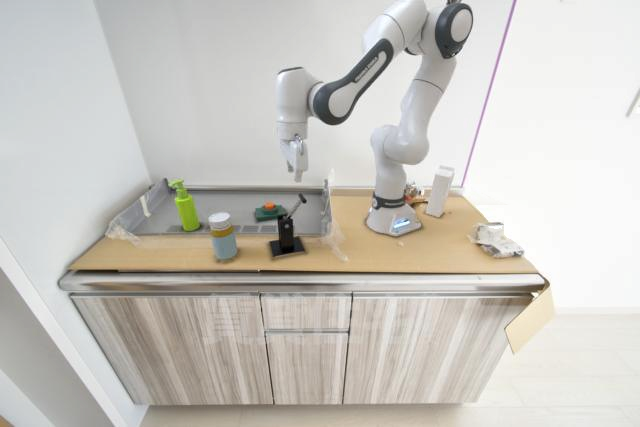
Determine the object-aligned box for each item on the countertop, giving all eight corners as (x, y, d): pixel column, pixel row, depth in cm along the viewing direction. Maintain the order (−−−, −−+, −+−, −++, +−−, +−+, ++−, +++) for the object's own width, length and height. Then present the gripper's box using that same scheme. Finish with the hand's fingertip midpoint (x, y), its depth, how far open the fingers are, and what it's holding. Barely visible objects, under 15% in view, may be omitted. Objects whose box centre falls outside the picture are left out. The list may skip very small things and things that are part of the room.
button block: (282, 208, 112) (281, 201, 110) (285, 218, 105) (285, 209, 103) (255, 212, 109) (254, 204, 107) (257, 222, 101) (256, 213, 99)
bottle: (231, 263, 78) (223, 224, 71) (212, 260, 79) (202, 221, 72) (241, 250, 84) (235, 213, 77) (223, 248, 85) (215, 210, 78)
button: (273, 205, 107) (273, 202, 106) (275, 209, 104) (274, 205, 103) (264, 206, 106) (264, 203, 105) (265, 210, 103) (265, 207, 102)
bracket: (298, 238, 91) (297, 208, 85) (305, 252, 83) (304, 221, 77) (269, 243, 88) (266, 213, 82) (273, 259, 80) (270, 226, 74)
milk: (438, 217, 107) (452, 170, 96) (424, 213, 110) (436, 166, 100) (443, 213, 111) (457, 166, 100) (429, 208, 114) (441, 163, 104)
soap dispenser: (178, 230, 95) (163, 182, 85) (192, 222, 100) (179, 176, 91) (189, 233, 93) (175, 185, 83) (203, 225, 98) (191, 179, 89)
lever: (304, 195, 81) (299, 191, 80) (308, 201, 77) (303, 197, 75) (284, 222, 83) (278, 219, 82) (287, 230, 79) (281, 227, 78)
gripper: (314, 138, 63) (313, 187, 69) (294, 125, 80) (296, 166, 86) (290, 139, 61) (292, 189, 67) (275, 126, 78) (278, 167, 84)
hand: (294, 176), depth 77 cm, fingers open, 8 cm apart
